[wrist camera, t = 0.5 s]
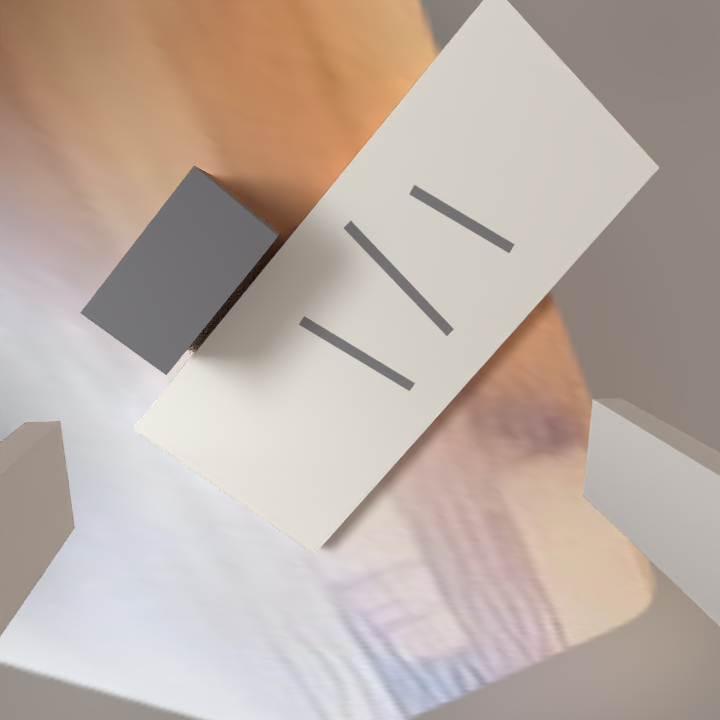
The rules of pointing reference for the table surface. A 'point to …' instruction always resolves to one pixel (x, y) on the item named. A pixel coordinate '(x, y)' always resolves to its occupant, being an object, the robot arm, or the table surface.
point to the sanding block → (181, 270)
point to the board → (401, 280)
